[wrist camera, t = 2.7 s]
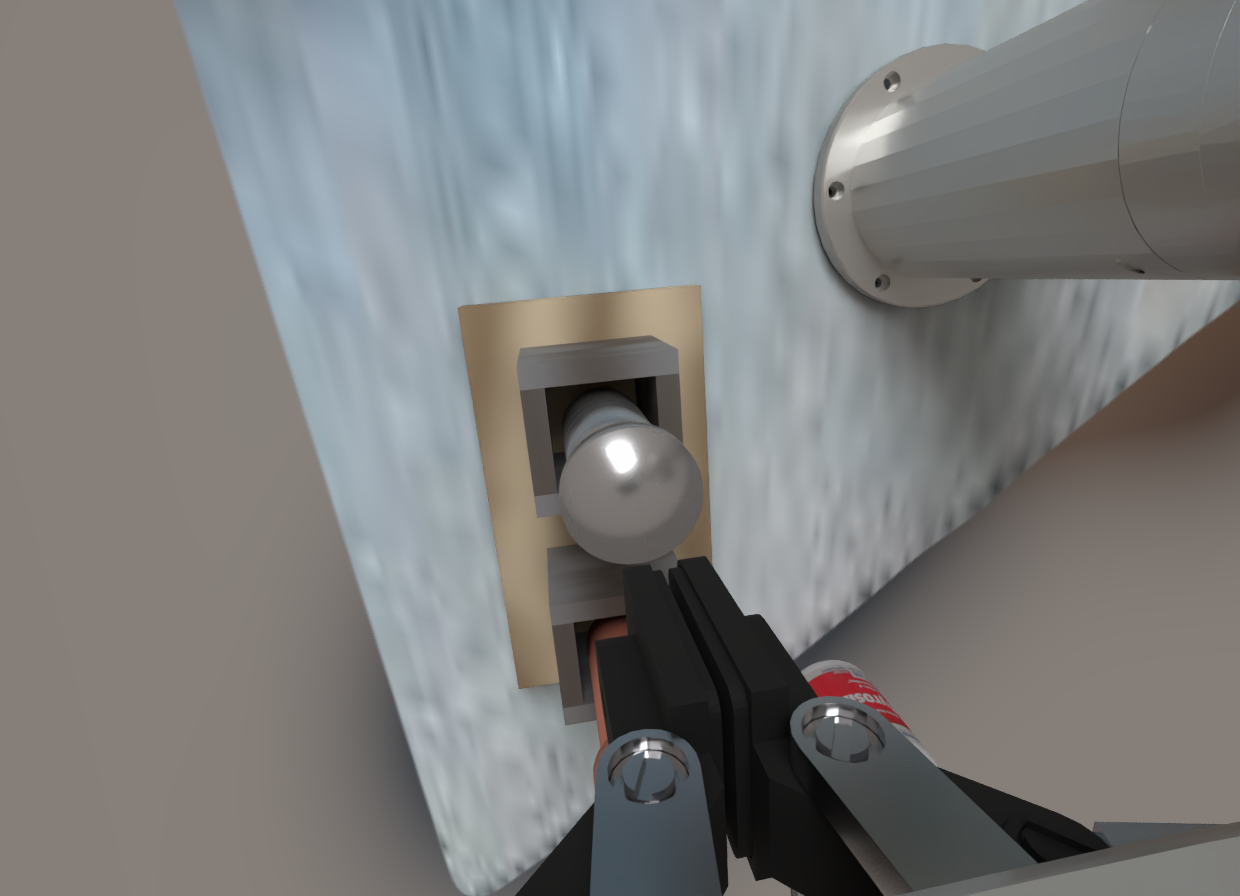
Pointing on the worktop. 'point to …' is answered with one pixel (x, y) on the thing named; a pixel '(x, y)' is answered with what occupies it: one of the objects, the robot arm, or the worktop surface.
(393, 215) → the worktop surface
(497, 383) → the board
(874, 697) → the pill bottle
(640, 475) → the grey plug
